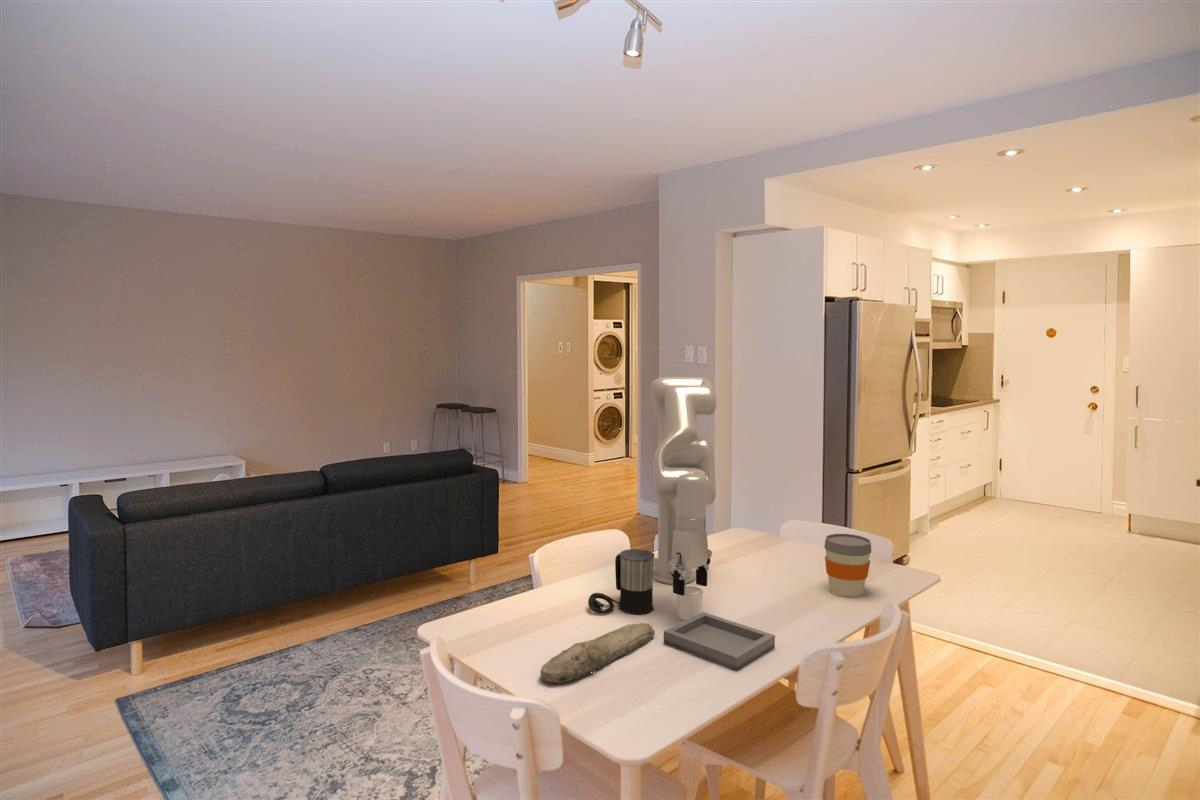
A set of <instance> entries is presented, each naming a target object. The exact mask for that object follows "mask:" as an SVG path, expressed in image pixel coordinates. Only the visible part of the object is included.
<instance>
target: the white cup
mask: <svg viewBox="0 0 1200 800" xmlns="http://www.w3.org/2000/svg"><path fill="white" fill-rule="evenodd" d="M703 598H704V590H703V589H701V588H699V587H696V586H685V594H684V595H683V596H682V595H678V594H676V603H677V617H678V619H679V620H680V621H683V622H684V621H686V620H688V619H690V618H692V617H694V616H696V615H698V614H700V613H702V609H703Z"/></svg>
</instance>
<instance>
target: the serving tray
mask: <svg viewBox="0 0 1200 800" xmlns="http://www.w3.org/2000/svg"><path fill="white" fill-rule="evenodd" d="M663 644H664V645H666V644H667V646H669V647H672V648H674V647H675V648H674V649H677V650H679V651H682V650H683V651H682V652H685V653H688V654H691V655H693V656H695V657H698V658H701V659H704V660H706V661H709V662H712V663H715V664H716V665H719V666H721V667H725V668H726V669H727V668H728V669H730V670H733V671H736V672H739V671H740V670H741V669H743V668H744V667H746V666H748V665H749V664H751V663H753V662H754V661H756V660H758V659H759V658H761V657H762V656H764V655H766V654H767V653H769V652H770V651H772V650H774V649H775V647H776V645H775V644H776V635H775V634H772V633H769V632H767V631H762V630H761V629H757V628H753V627H751V626H747V625H745V624H741V623H738V622H735V621H732V620H730V619H727V618H723V617H720V616H717V615H713V614H711V613H708V612H705V611H703V612H702V611H701V613H700V614H698V615H696V616H694V617H692V618H690V619H688V620H686V621H684V620H683V621H681V622H680V623H677V624H676V625H673V626H672V627H669V628H667V629H665V630H663Z"/></svg>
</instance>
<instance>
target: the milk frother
mask: <svg viewBox="0 0 1200 800" xmlns="http://www.w3.org/2000/svg"><path fill="white" fill-rule="evenodd" d="M655 557H656V556H655V553H654V552H652V551H650V550H647V549H642V548H641V549H640V548H630V549H629V548H628V549H625V550H622V551H620V552H619V553H618V554H617V555H616V557H615V561H614V562H615V563H614V565H615V566H614V567H615V568H614V569H615V572H614V573H615V588H616V590H617V591H620V592H619V593H620V594H619V601H616V600H615V599H613V598H612V597H611V596H608V595H607V594H604V593H603V592H602V593H601V592H593V593H592V594H591V595H590V596H589V597H588V602H587V604H588V605H587V606H588V607H589V609H590V610H592V611H593V612H594V613H598V614H600V615H601V614H604V615H605V614H609V613H612V612H613V611H614V609H615V604H618V609H619V610H620V611H621V612H624V613H626V614H631V615H645V614H649V613H651V612H653V611H654V605H653V603H654V602H653V601H654V600H653V596H654V595H653V590H654V589H653V588H654V587H653V583H654V578H653V572H654V566H653V558H655ZM598 599H600V600H601V599H602V600H604V601H605V602H606V603H608V605H609V607H607V608H604V606H605V604H604V603H601V601H599V600H598ZM614 603H615V604H614Z"/></svg>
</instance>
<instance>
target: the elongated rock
mask: <svg viewBox="0 0 1200 800" xmlns="http://www.w3.org/2000/svg"><path fill="white" fill-rule="evenodd" d="M655 634H656V632H655V630H654V629H653V626H652V625H651V624H650V623H644V622H639V623H632V624H626V625H624V626H623V625H622V627H620V628H617V629H615V630H612V631H609V632H607V633H604V634H602V635H601V636H598V637H596V638H593V639H589V640H587V641H582V642H575V643H574V644H572V645H571V646H570V647H569V648H567V649H565V650H562V651H560V653H558V654H557V655H555V656H554V657H552V658H550V660H548V661H547V662H545V664H542V666H541V669H540V677H541V679H542V680H543V681H545V682H548V683H552V684H553V683H554V684H558V685H559V684H561V683H562V684H563V683H566V682H570V681H574V680H579V679H581V678H583V677H584V675H585V676H586V675H589V674H594V673H593V672H594V671H595V670H596V671H598V670H597V669H599V670H600V669H601V668H602V667H604V666H607V664H610V663H612V662H613V661H615V659H617V658H618V657H621V656H626V654H627V653H628V652H631V651H632V650H634V649H635V650H636V649H637V648H640V647H641V646H643V644H644V645H645V644H646V643H648V642H649V641H651V640H652V637H653V636H655ZM639 646H640V647H639ZM596 671H595V672H596ZM591 672H592V673H591Z"/></svg>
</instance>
